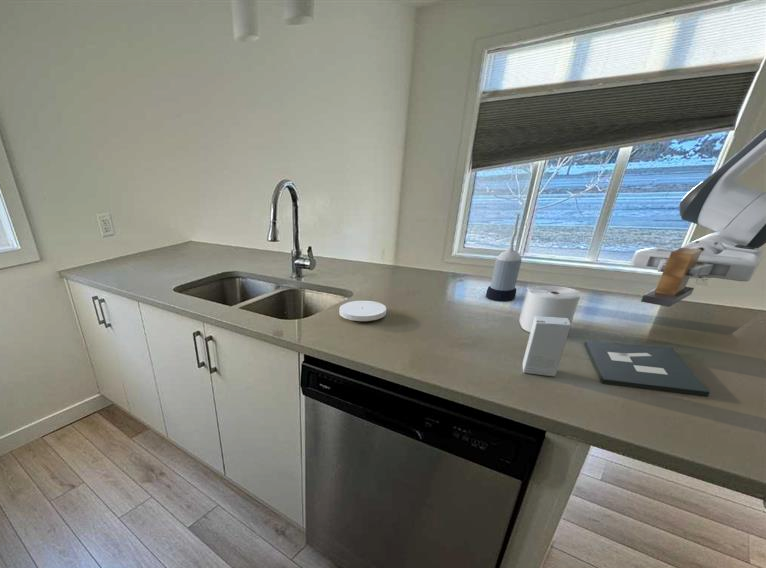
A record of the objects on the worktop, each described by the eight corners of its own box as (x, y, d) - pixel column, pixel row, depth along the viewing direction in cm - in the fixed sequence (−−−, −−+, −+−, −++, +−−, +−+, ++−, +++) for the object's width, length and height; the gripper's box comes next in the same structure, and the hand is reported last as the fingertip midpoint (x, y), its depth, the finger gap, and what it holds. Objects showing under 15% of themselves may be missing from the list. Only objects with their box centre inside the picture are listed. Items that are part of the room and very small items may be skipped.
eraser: (691, 294, 92) (713, 247, 87) (669, 307, 87) (691, 257, 82) (663, 289, 96) (682, 244, 91) (640, 301, 91) (659, 254, 86)
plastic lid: (384, 325, 117) (385, 317, 116) (336, 323, 122) (336, 315, 120) (386, 308, 129) (387, 301, 127) (342, 307, 133) (342, 300, 132)
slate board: (670, 351, 91) (672, 347, 91) (707, 396, 76) (710, 391, 75) (583, 343, 98) (585, 339, 97) (601, 383, 83) (603, 379, 82)
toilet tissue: (564, 340, 100) (577, 301, 95) (510, 330, 108) (519, 293, 103) (572, 325, 107) (584, 289, 102) (520, 317, 114) (529, 282, 109)
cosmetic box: (552, 368, 89) (569, 317, 83) (555, 378, 86) (573, 325, 80) (520, 364, 92) (534, 314, 86) (521, 373, 88) (536, 322, 82)
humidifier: (491, 291, 134) (508, 211, 122) (518, 296, 129) (540, 212, 116) (481, 298, 130) (498, 215, 117) (509, 303, 124) (530, 216, 112)
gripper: (650, 239, 100) (624, 249, 95) (773, 250, 85) (751, 263, 79) (640, 264, 103) (615, 275, 98) (757, 279, 88) (735, 294, 82)
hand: (677, 270), depth 88 cm, fingers closed on eraser, 3 cm apart
